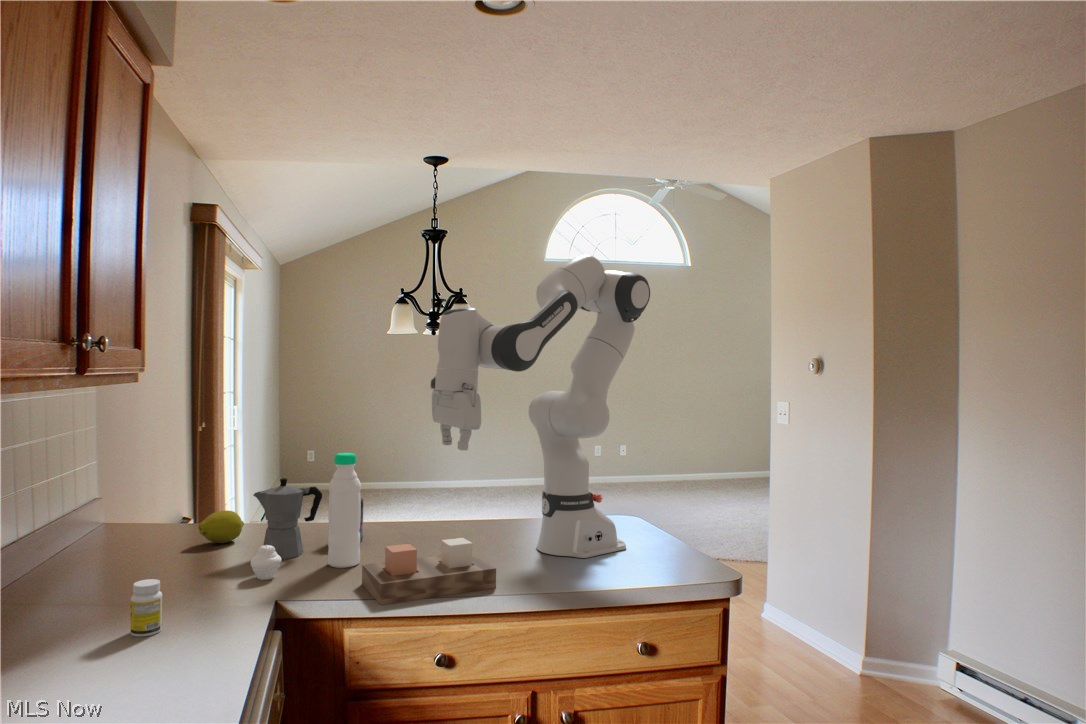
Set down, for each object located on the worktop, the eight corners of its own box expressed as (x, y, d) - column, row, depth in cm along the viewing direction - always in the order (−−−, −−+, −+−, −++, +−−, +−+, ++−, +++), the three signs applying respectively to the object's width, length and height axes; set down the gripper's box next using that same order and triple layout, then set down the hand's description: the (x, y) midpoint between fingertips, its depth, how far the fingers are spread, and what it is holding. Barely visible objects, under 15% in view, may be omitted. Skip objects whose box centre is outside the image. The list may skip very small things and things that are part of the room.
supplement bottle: (138, 627, 125) (139, 578, 125) (167, 626, 125) (167, 577, 125) (124, 637, 120) (125, 587, 120) (154, 637, 120) (155, 586, 120)
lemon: (240, 536, 187) (240, 505, 187) (248, 543, 180) (248, 511, 180) (194, 542, 180) (194, 510, 180) (201, 549, 174) (201, 516, 174)
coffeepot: (252, 562, 164) (254, 483, 164) (252, 551, 173) (253, 476, 173) (323, 556, 170) (324, 479, 170) (319, 546, 179) (320, 473, 179)
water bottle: (351, 569, 160) (352, 456, 160) (321, 567, 161) (323, 454, 161) (365, 560, 167) (366, 452, 167) (336, 558, 168) (338, 451, 168)
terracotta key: (408, 567, 150) (409, 543, 150) (416, 574, 146) (416, 549, 145) (384, 570, 148) (385, 546, 148) (392, 577, 143) (392, 552, 143)
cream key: (462, 560, 156) (463, 537, 156) (471, 567, 151) (472, 543, 151) (440, 563, 153) (441, 540, 153) (449, 570, 149) (449, 545, 149)
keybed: (469, 569, 161) (470, 551, 161) (495, 587, 149) (496, 568, 149) (361, 584, 150) (362, 564, 150) (380, 605, 138) (380, 584, 138)
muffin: (285, 578, 153) (286, 545, 153) (256, 584, 149) (256, 550, 149) (274, 571, 158) (275, 539, 158) (245, 576, 154) (246, 543, 154)
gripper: (490, 384, 147) (487, 453, 147) (454, 381, 165) (451, 442, 165) (461, 384, 144) (458, 453, 144) (427, 380, 163) (425, 442, 162)
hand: (454, 447), depth 155 cm, fingers open, 8 cm apart
